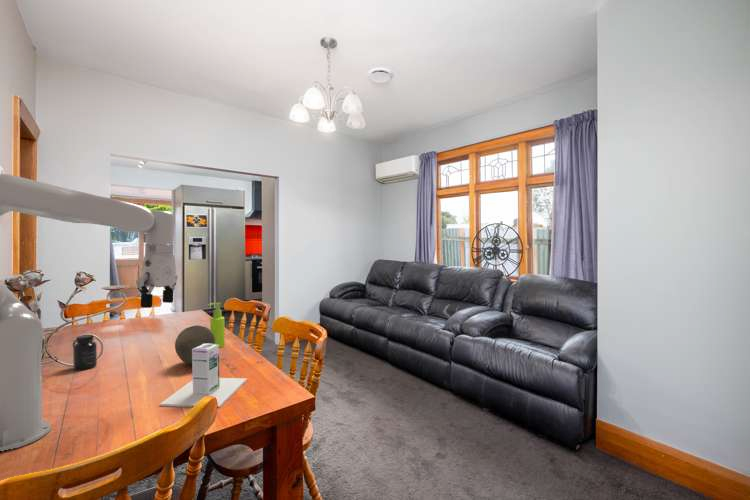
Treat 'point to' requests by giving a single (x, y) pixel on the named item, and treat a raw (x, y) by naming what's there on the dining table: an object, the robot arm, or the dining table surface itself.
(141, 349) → the dining table surface
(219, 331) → the soap dispenser
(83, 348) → the supplement bottle
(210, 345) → the syrup box
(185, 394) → the mat
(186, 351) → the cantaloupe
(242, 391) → the dining table surface
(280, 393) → the dining table surface
